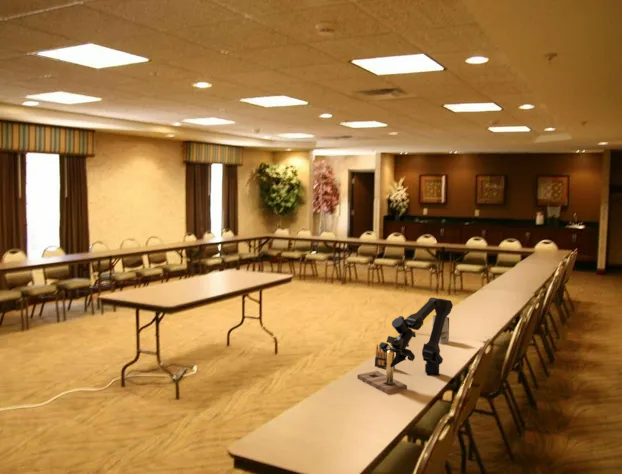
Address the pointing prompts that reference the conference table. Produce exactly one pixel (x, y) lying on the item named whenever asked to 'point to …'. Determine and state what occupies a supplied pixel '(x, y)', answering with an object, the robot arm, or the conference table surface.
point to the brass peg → (389, 369)
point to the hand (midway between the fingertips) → (388, 366)
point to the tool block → (381, 382)
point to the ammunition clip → (380, 358)
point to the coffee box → (444, 331)
